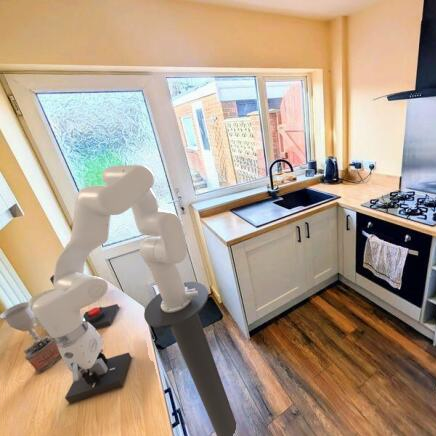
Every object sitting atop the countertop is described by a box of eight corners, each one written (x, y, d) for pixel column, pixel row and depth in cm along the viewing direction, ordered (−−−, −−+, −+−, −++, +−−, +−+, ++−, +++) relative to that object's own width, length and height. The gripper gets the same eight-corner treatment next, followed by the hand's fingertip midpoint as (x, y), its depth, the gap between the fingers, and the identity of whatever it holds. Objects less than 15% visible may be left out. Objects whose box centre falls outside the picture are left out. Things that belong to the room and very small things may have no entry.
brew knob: (108, 368, 77) (101, 357, 75) (106, 373, 76) (99, 362, 74) (92, 373, 76) (84, 362, 74) (89, 378, 75) (81, 367, 73)
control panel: (132, 358, 83) (128, 351, 82) (122, 387, 75) (118, 380, 73) (85, 372, 80) (80, 366, 79) (69, 404, 72) (64, 397, 70)
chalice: (32, 357, 88) (2, 320, 80) (26, 349, 91) (-3, 313, 84) (57, 341, 93) (31, 305, 86) (51, 334, 97) (25, 299, 89)
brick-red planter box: (61, 350, 89) (47, 331, 85) (67, 353, 88) (53, 333, 84) (34, 371, 82) (17, 351, 78) (40, 374, 81) (23, 354, 77)
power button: (102, 309, 102) (100, 306, 101) (98, 315, 99) (96, 312, 98) (92, 311, 101) (90, 308, 100) (88, 318, 98) (86, 315, 97)
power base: (119, 307, 107) (115, 300, 105) (110, 325, 98) (106, 317, 97) (88, 315, 104) (83, 308, 103) (76, 334, 96) (71, 326, 94)
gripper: (70, 353, 62) (101, 396, 69) (98, 306, 77) (121, 345, 84) (35, 363, 60) (70, 406, 68) (71, 313, 75) (96, 352, 83)
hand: (98, 372), depth 76 cm, fingers open, 5 cm apart
